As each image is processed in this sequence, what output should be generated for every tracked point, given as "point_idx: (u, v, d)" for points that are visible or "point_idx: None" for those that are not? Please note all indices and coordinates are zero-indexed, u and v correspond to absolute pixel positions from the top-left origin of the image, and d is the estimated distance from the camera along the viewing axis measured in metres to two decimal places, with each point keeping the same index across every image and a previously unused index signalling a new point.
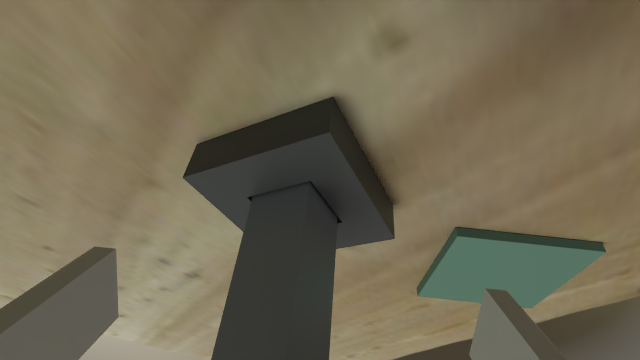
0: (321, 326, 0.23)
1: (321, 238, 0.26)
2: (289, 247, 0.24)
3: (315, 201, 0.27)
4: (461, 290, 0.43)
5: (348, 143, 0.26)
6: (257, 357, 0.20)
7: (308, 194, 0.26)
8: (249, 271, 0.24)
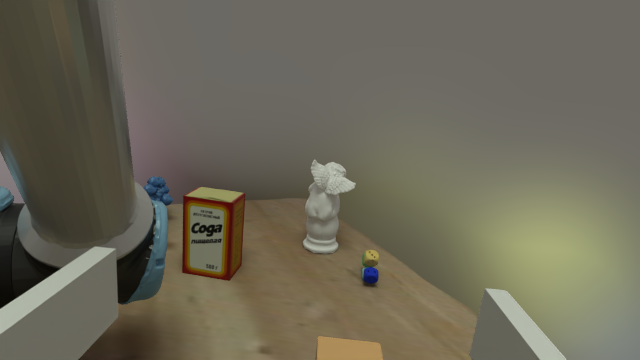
0: None
1: None
2: None
3: None
4: None
5: None
6: None
7: None
8: None
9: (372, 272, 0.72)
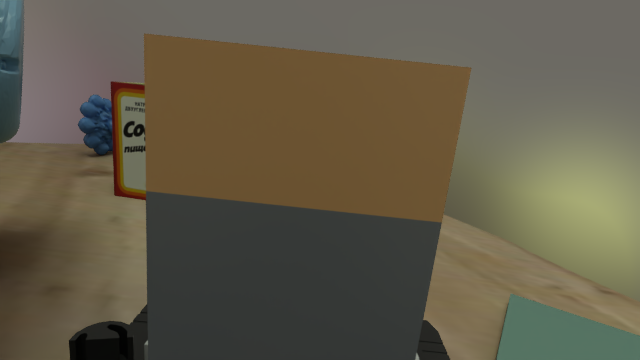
0: None
1: None
2: None
3: None
4: None
5: None
6: None
7: None
8: None
9: None
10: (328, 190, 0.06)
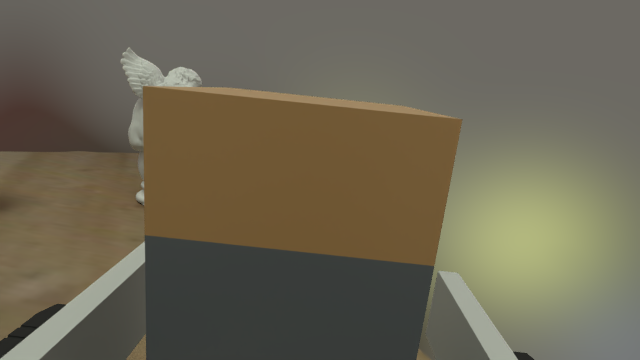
0: None
1: None
2: None
3: None
4: None
5: None
6: None
7: None
8: None
9: None
10: (323, 235, 0.06)
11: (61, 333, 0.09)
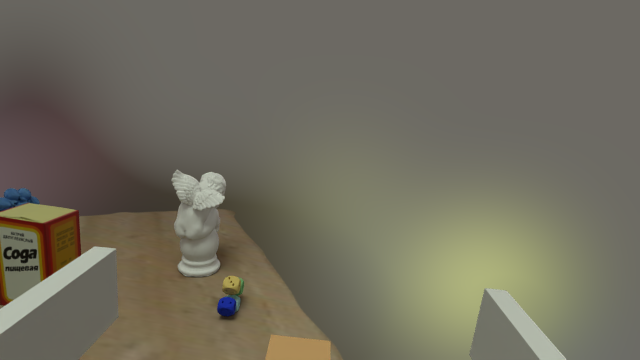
0: None
1: None
2: None
3: None
4: None
5: None
6: None
7: None
8: None
9: (227, 303, 0.62)
10: None
11: None
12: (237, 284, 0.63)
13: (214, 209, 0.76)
